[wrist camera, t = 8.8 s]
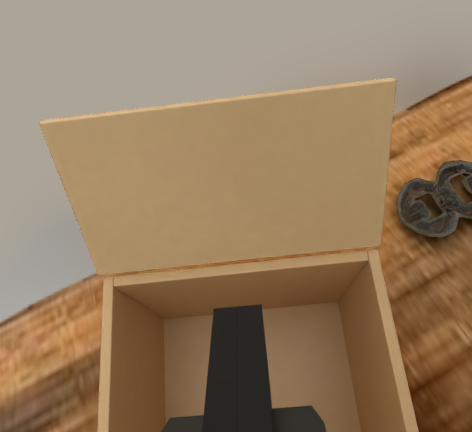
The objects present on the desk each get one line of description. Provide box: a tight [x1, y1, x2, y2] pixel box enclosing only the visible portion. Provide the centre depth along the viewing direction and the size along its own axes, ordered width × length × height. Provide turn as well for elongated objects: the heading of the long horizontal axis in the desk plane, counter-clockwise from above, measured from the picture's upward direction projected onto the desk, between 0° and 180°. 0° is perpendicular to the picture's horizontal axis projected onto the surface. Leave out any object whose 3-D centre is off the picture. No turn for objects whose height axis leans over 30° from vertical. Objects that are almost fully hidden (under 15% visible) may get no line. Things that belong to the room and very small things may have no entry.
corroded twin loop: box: [397, 160, 472, 238], centre depth 30 cm, size 5×8×1 cm, turn 114°
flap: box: [39, 78, 396, 275], centre depth 17 cm, size 7×13×1 cm
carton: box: [98, 249, 419, 432], centre depth 22 cm, size 15×13×10 cm
